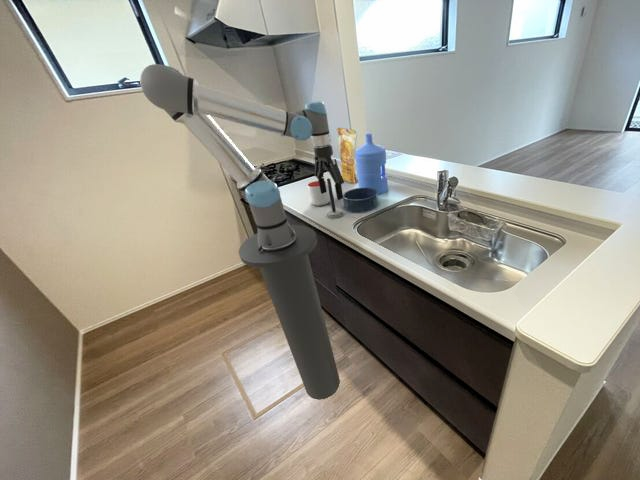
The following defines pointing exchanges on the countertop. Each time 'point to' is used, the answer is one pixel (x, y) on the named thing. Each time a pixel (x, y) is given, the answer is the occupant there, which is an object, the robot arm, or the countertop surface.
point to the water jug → (371, 166)
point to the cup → (318, 194)
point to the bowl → (360, 200)
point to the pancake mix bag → (347, 153)
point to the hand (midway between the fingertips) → (331, 195)
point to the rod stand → (332, 203)
